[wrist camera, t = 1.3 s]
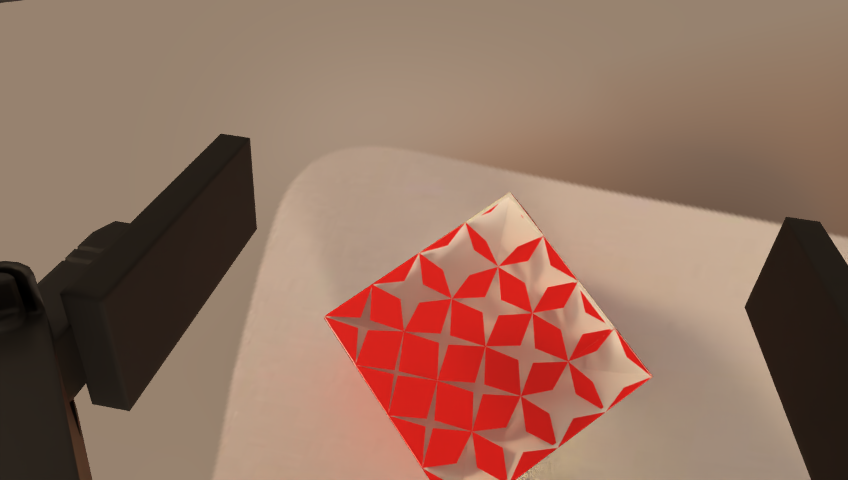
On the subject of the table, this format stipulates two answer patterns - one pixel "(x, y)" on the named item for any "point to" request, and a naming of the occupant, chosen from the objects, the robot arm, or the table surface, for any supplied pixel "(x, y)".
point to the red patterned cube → (486, 349)
